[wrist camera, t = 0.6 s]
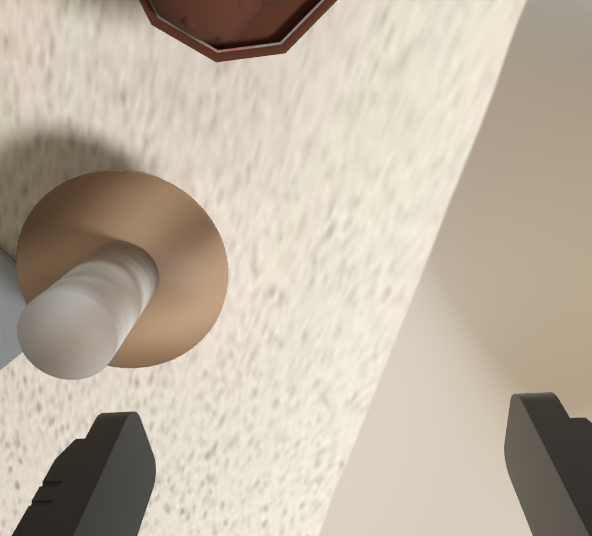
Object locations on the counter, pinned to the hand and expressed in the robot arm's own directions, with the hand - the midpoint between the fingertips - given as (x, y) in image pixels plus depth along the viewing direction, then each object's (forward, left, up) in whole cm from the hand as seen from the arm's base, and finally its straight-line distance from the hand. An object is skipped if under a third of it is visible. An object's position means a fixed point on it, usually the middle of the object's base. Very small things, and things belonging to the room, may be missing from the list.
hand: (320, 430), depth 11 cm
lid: (-4, -10, -22) cm, 24 cm away
